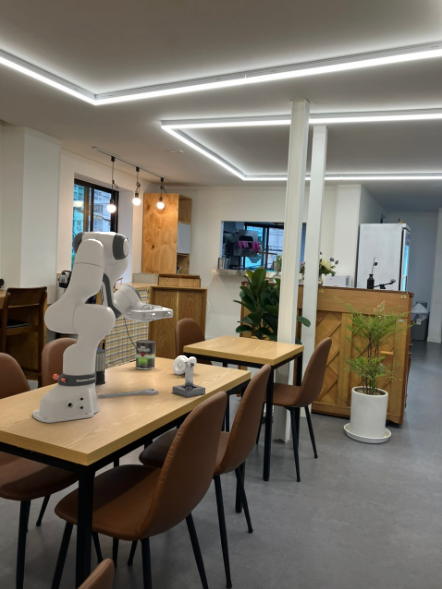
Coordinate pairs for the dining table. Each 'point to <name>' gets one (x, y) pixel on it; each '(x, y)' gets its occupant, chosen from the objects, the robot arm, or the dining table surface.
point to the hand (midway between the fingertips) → (162, 315)
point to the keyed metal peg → (189, 375)
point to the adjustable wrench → (130, 393)
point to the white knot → (182, 364)
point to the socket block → (188, 390)
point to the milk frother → (100, 366)
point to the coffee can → (145, 354)
